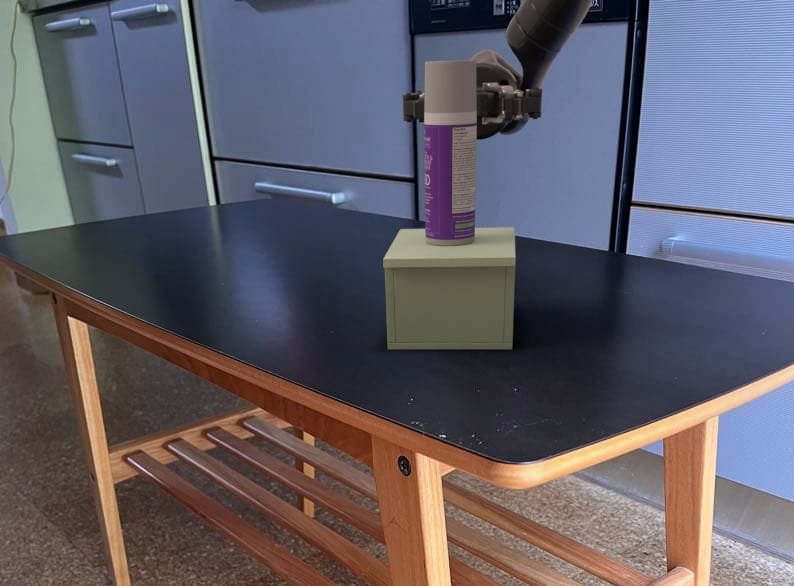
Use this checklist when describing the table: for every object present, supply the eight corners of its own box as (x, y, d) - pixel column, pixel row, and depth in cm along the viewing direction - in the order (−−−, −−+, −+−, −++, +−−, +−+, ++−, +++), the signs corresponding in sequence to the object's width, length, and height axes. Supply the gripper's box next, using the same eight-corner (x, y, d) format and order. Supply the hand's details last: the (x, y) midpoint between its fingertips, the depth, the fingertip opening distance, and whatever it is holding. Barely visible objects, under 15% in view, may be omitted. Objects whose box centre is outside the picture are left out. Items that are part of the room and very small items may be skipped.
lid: (515, 266, 76) (515, 257, 76) (383, 268, 77) (383, 258, 77) (514, 235, 88) (514, 227, 88) (400, 237, 90) (400, 229, 89)
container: (415, 241, 83) (412, 62, 76) (453, 234, 86) (453, 60, 78) (446, 247, 80) (447, 61, 73) (485, 240, 82) (489, 59, 75)
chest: (512, 351, 80) (515, 264, 77) (387, 351, 82) (384, 266, 78) (511, 312, 92) (514, 235, 88) (402, 313, 94) (400, 237, 90)
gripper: (420, 64, 98) (392, 68, 85) (548, 59, 96) (540, 62, 82) (421, 137, 102) (394, 152, 88) (545, 135, 99) (537, 149, 86)
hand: (465, 109), depth 85 cm, fingers open, 8 cm apart
